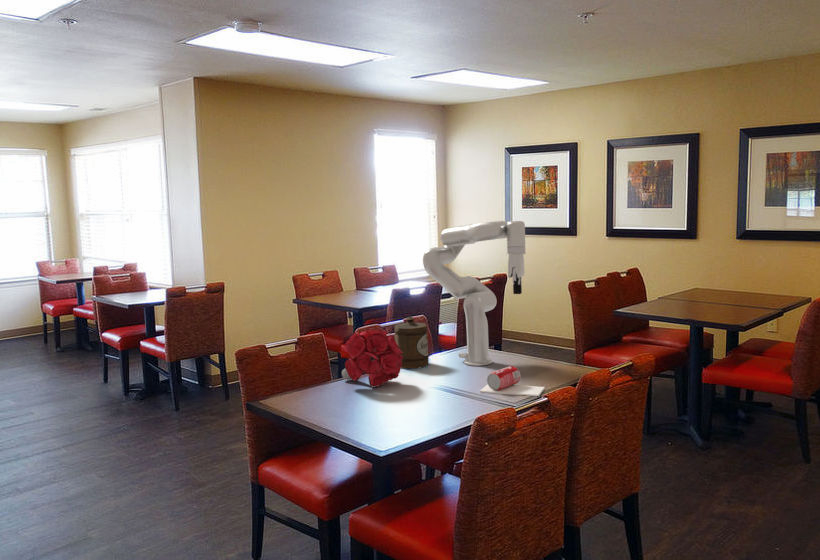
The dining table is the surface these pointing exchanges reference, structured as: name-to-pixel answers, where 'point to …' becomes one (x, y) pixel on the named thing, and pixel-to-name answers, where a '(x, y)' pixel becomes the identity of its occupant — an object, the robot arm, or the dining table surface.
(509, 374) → the soda can
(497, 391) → the mat
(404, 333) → the wooden container
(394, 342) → the bouquet
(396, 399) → the dining table surface
